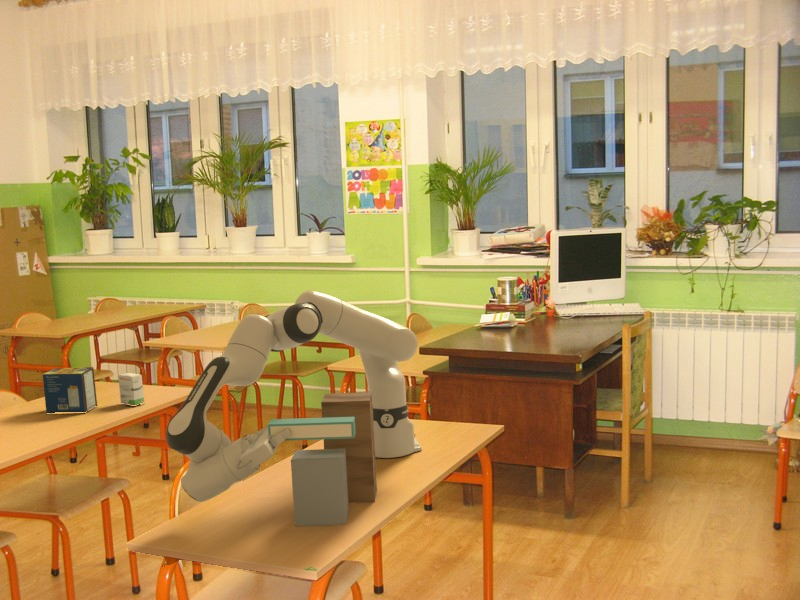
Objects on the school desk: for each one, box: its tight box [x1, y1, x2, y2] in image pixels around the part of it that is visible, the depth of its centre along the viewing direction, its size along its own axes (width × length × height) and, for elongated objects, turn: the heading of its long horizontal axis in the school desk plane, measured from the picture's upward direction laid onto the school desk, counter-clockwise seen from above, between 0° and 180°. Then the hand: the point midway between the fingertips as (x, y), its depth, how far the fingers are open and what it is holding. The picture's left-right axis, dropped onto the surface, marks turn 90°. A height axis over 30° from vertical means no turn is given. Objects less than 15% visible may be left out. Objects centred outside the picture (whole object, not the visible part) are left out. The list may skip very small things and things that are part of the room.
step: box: [290, 448, 350, 527], centre depth 211 cm, size 8×12×16 cm, turn 88°
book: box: [267, 417, 356, 442], centre depth 210 cm, size 5×20×4 cm, turn 88°
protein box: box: [42, 366, 98, 413], centre depth 331 cm, size 10×15×16 cm
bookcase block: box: [320, 391, 378, 504], centre depth 225 cm, size 9×12×26 cm
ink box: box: [117, 372, 145, 405], centre depth 337 cm, size 9×5×12 cm, turn 54°
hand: (292, 427), depth 210 cm, fingers closed on book, 5 cm apart
